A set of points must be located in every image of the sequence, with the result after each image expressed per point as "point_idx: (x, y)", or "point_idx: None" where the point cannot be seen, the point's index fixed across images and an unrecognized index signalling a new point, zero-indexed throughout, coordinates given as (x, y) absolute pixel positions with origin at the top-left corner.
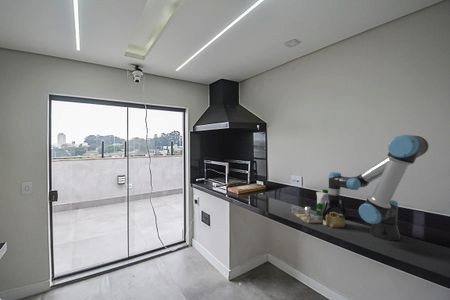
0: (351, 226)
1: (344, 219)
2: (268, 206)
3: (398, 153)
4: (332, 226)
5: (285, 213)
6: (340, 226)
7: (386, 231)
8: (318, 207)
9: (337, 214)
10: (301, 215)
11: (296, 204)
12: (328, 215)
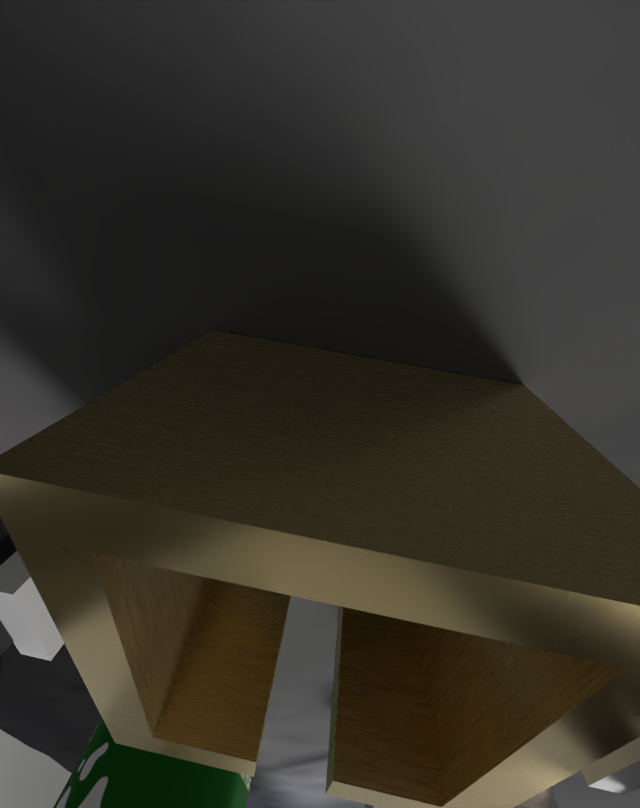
0: (57, 291)
1: (106, 404)
2: None
3: None
4: (527, 394)
5: (564, 792)
6: (310, 351)
7: None
8: None
9: (141, 667)
10: None
11: (263, 795)
12: (587, 755)
